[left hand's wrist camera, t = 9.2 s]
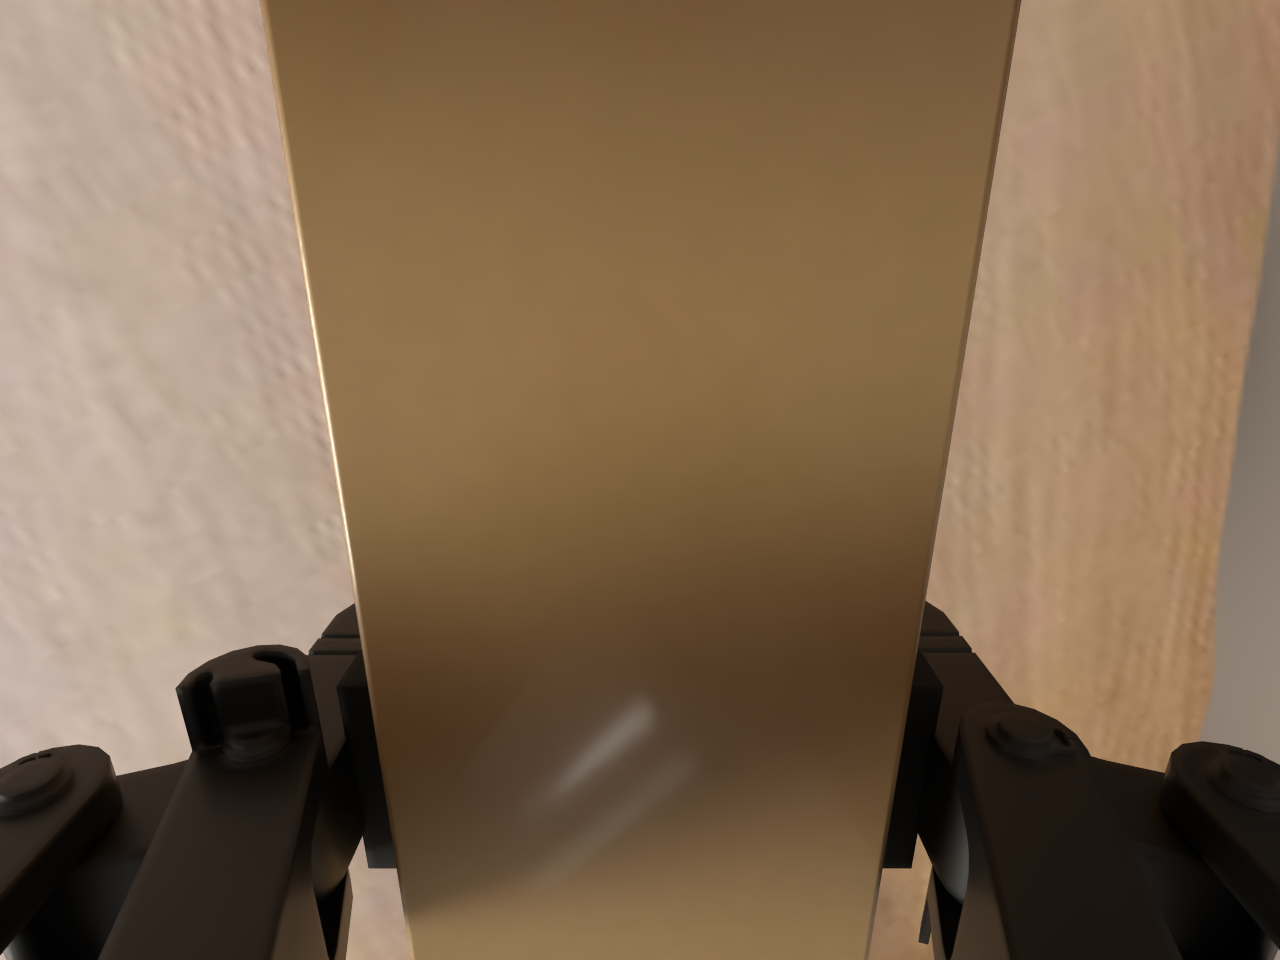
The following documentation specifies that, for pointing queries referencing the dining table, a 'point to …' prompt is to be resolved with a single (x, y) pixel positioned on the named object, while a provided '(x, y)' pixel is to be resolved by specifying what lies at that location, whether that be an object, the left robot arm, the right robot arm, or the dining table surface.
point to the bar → (640, 439)
